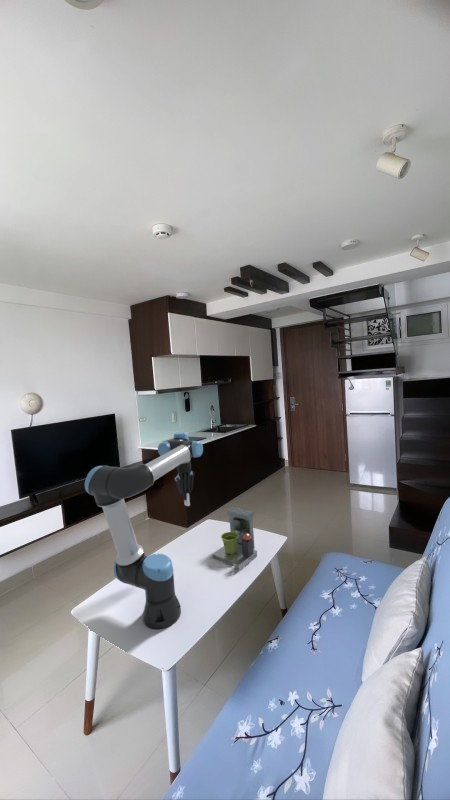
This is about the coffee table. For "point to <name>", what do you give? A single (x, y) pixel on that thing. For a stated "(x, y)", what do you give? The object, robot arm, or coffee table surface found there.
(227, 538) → the plant pot
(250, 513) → the frame
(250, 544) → the lever
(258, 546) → the coffee table surface
